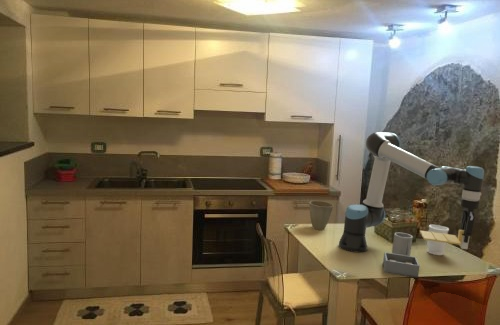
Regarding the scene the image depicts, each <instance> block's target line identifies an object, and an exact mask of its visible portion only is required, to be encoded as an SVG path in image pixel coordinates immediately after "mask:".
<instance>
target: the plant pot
mask: <svg viewBox="0 0 500 325" xmlns="http://www.w3.org/2000/svg"><path fill="white" fill-rule="evenodd" d="M308 204H309V206H308V208H309V216H310V222H311V226H312V229H314V230H317V231H323V230H325V228H326V227H327V225H328V222H329V220H330V217H331V216H332V215H331V214H332V211H333V208H334V204H332V202H328V201H323V200H310V201H309V203H308Z"/></svg>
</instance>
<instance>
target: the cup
mask: <svg viewBox="0 0 500 325" xmlns="http://www.w3.org/2000/svg"><path fill="white" fill-rule="evenodd" d="M413 238H414V236H413V235H412V234H409V233H405V232H394V235H393V242H392V248H391V253H392V254H399V255H405V256H411V251H412V245H413V244H412V243H413Z"/></svg>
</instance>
